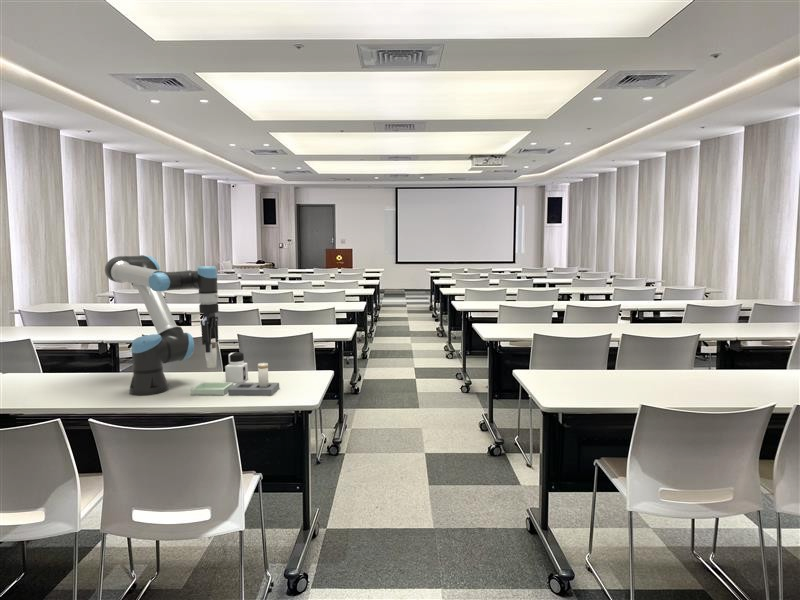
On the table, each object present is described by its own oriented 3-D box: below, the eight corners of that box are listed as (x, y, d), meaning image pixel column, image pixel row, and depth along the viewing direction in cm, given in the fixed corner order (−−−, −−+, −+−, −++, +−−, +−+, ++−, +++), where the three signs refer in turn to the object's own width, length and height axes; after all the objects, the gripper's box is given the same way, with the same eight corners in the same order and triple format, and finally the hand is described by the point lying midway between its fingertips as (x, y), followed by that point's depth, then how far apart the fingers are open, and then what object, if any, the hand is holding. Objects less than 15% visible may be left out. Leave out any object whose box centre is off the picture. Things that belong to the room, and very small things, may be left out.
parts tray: (190, 395, 240) (190, 389, 240) (202, 388, 252) (201, 382, 252) (223, 395, 239) (223, 389, 239) (233, 388, 251) (233, 382, 251)
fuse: (257, 393, 242) (256, 364, 241) (260, 390, 246) (259, 362, 245) (267, 393, 242) (266, 364, 241) (270, 390, 246) (269, 362, 245)
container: (248, 379, 268) (247, 351, 266) (242, 383, 260) (241, 354, 259) (232, 378, 268) (231, 351, 267) (225, 382, 261) (224, 354, 259)
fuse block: (228, 395, 239) (228, 389, 239) (238, 388, 251) (238, 382, 251) (271, 395, 238) (271, 389, 238) (279, 388, 250) (279, 382, 250)
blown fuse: (204, 368, 242) (203, 339, 241) (208, 366, 246) (207, 338, 245) (214, 368, 242) (213, 339, 241) (218, 366, 246) (217, 338, 245)
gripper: (209, 305, 233) (212, 362, 235) (224, 301, 250) (227, 354, 252) (191, 305, 233) (194, 362, 236) (207, 301, 250) (210, 354, 253)
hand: (211, 358), depth 244 cm, fingers closed on blown fuse, 4 cm apart
